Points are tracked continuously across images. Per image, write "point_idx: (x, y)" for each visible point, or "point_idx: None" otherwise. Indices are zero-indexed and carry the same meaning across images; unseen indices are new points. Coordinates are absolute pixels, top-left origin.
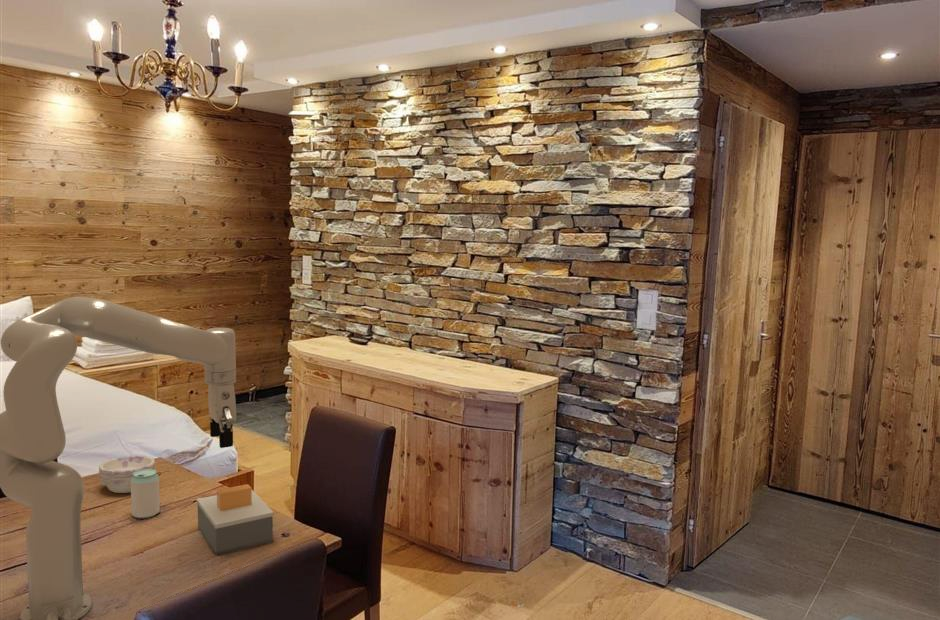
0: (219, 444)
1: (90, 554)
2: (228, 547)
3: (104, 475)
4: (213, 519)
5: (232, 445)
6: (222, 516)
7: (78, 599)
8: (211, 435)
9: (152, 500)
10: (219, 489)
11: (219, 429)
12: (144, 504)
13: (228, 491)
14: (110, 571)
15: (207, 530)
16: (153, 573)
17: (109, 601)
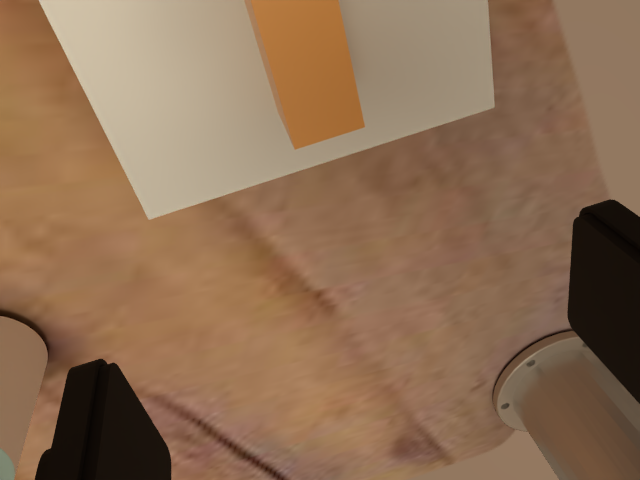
0: (593, 346)
1: (293, 402)
2: None
3: None
4: (433, 120)
5: (611, 204)
6: (413, 79)
7: (602, 366)
8: (169, 470)
9: (13, 371)
10: (291, 134)
11: (127, 469)
12: (35, 384)
13: (342, 77)
14: (411, 338)
15: None
16: (469, 240)
17: (560, 303)
